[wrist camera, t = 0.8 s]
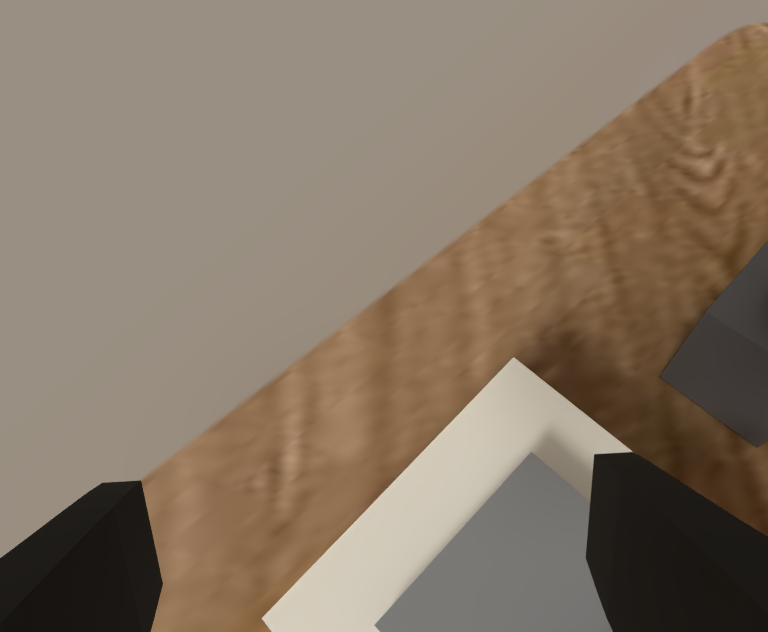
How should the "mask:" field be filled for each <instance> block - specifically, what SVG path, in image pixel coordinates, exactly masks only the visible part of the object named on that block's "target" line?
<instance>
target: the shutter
mask: <svg viewBox="0 0 768 632" xmlns="http://www.w3.org/2000/svg"><path fill="white" fill-rule="evenodd" d="M589 511H590V502H589V501H588V500H587V499H586V498H585V497H584V496H582V495H581V494H580V493H579V492H578V491H577V490H575V489H574V488H573V487H572V486H571V485H570V484H568V483H567V482H566V481H565V480H564V479H563V478H561V477H560V476H559V475H558V474H557V473H556V472H554V471H553V470H552V469H551V468H550V467H549V466H547V465H546V464H545V463H544V462H543V461H542V460H540V459H539V458H538V457H537V456H536V455H535V454H534V453H532V452H530V454H529V455H528V456H527V457H526V458H525V459H524V460H523V461H522V462H521V464H520V465H519V466H518V467H517V468H516V469H515V470H514V471H513V472H512V473H511V475H510V476H509V477H508V478H507V479H506V480H505V481H504V482H503V483H502V485H501V486H500V487H499V488H498V489H497V490H496V491H495V492H494V493H493V494H492V496H491V497H490V498H489V499H488V500H487V501H486V502H485V503H484V504H483V505H482V507H481V508H480V509H479V510H478V511H477V512H476V513H475V514H474V515H473V517H472V518H471V519H470V520H469V521H468V522H467V523H466V524H465V525H464V526H463V528H462V529H461V530H460V531H459V532H458V533H457V534H456V535H455V536H454V538H453V539H452V540H451V541H450V542H449V543H448V544H447V545H446V546H445V547H444V549H443V550H442V551H441V552H440V553H439V554H438V555H437V556H436V557H435V559H434V560H433V561H432V562H431V563H430V564H429V565H428V566H427V567H426V568H425V570H424V571H423V572H422V573H421V574H420V575H419V576H418V577H417V578H416V579H415V581H414V582H413V583H412V584H411V585H410V586H409V587H408V588H407V589H406V591H405V592H404V593H403V594H402V595H401V596H400V597H399V598H398V599H397V600H396V602H395V603H394V604H393V605H392V606H391V607H390V608H389V609H388V610H387V612H386V613H385V614H384V615H383V616H382V617H381V618H380V619H379V620H378V621H377V623H376V624H375V627H376V628H377V629H378V630H379V631H380V632H613V631H612V629H611V627H610V624H609V622H608V620H607V618H606V615H605V612H604V610H603V607H602V604H601V601H600V599H599V596H598V593H597V590H596V587H595V584H594V581H593V578H592V575H591V572H590V569H589V566H588V563H587V560H586V547H587V535H588V523H589Z"/></svg>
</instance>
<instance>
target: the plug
mask: <svg viewBox="0 0 768 632" xmlns="http://www.w3.org/2000/svg"><path fill="white" fill-rule="evenodd" d="M660 378H661V379H663V380H664V381H665V382H667V383H668V384H670V385H671V386H672V387H674V388H675V389H676V390H678V391H679V392H681V393H682V394H683V395H685V396H686V397H688V398H689V399H690V400H692V401H693V402H694V403H696V404H697V405H699V406H700V407H701V408H703V409H704V410H706V411H707V412H708V413H710V414H711V415H712V416H714V417H715V418H717V419H718V420H719V421H721V422H722V423H724V424H725V425H726V426H728V427H729V428H731V429H732V430H733V431H735V432H736V433H737V434H739V435H740V436H742V437H743V438H744V439H746V440H747V441H749V442H750V443H751V444H753V445H754V446H755V447H759V446H760V445H762V444H763V443H765V442H766V441H768V241H767V242H766V243H765V245H764V246H763V247H762V248H761V249H760V250H759V251H758V253H757V254H756V255H755V256H754V257H753V258H752V259H751V260H750V262H749V263H748V264H747V265H746V266H745V267H744V268H743V270H742V271H741V272H740V273H739V274H738V275H737V276H736V278H735V279H734V280H733V281H732V282H731V283H730V284H729V286H728V287H727V288H726V289H725V290H724V291H723V292H722V294H721V295H720V296H719V297H718V298H717V299H716V300H715V302H714V303H713V304H712V305H711V306H710V307H709V308H708V309H707V311H706V312H705V313H704V315H703V316H702V318H701V319H700V320H699V322H698V323H697V325H696V326H695V327H694V329H693V330H692V332H691V333H690V334H689V336H688V337H687V339H686V340H685V342H684V343H683V344H682V346H681V347H680V349H679V350H678V351H677V353H676V354H675V356H674V357H673V359H672V360H671V361H670V363H669V364H668V366H667V367H666V368H665V370H664V371H663V373H662V374H661V375H660Z"/></svg>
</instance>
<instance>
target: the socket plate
mask: <svg viewBox="0 0 768 632" xmlns="http://www.w3.org/2000/svg"><path fill="white" fill-rule="evenodd" d="M530 452H532V453H534V454H535V455H536V456H537V457H538V458H539V459H540V460H542V461H543V462H544V463H545V464H546V465H547V466H549V467H550V468H551V469H552V470H553V471H554V472H556V473H557V474H558V475H559V476H560V477H561V478H563V479H564V480H565V481H566V482H567V483H568V484H570V485H571V486H572V487H573V488H574V489H575V490H577V491H578V492H579V493H580V494H581V495H582V496H584V497H585V498H586V499H587V500H588V501H589V502H590V498H591V486H592V474H593V462H594V454H605V453H622V452H633V451H631V450H630V449H629V448H627V447H626V446H625V445H624V444H622V443H621V442H620V441H619V440H617V439H616V438H615V437H614V436H612V435H611V434H610V433H609V432H607V431H606V430H605V429H604V428H602V427H601V426H600V425H598V424H597V423H596V422H595V421H593V420H592V419H591V418H590V417H588V416H587V415H586V414H585V413H583V412H582V411H581V410H580V409H578V408H577V407H576V406H575V405H573V404H572V403H571V402H569V401H568V400H567V399H566V398H564V397H563V396H562V395H561V394H559V393H558V392H557V391H556V390H554V389H553V388H552V387H551V386H549V385H548V384H547V383H546V382H544V381H543V380H542V379H541V378H539V377H538V376H537V375H535V374H534V373H533V372H532V371H530V370H529V369H528V368H527V367H525V366H524V365H523V364H522V363H520V362H519V361H518V360H517V359H515V358H514V357H513V358H512V359H511V360H510V361H509V362H508V363H507V365H506V366H505V367H504V368H503V369H502V370H501V371H500V372H499V373H498V374H497V375H496V376H495V377H494V378H493V379H492V380H491V381H490V382H489V383H488V384H487V385H486V386H485V387H484V388H483V389H482V390H481V391H480V393H479V394H478V395H477V396H476V397H475V398H474V399H473V400H472V401H471V402H470V403H469V404H468V405H467V406H466V407H465V408H464V409H463V410H462V411H461V412H460V413H459V414H458V415H457V416H456V417H455V418H454V420H453V421H452V422H451V423H450V424H449V425H448V426H447V427H446V428H445V429H444V430H443V431H442V432H441V433H440V434H439V435H438V436H437V437H436V438H435V439H434V440H433V441H432V442H431V443H430V444H429V445H428V446H427V448H426V449H425V450H424V451H423V452H422V453H421V454H420V455H419V456H418V457H417V458H416V459H415V460H414V461H413V462H412V463H411V464H410V465H409V466H408V467H407V468H406V469H405V470H404V471H403V472H402V473H401V474H400V476H399V477H398V478H397V479H396V480H395V481H394V482H393V483H392V484H391V485H390V486H389V487H388V488H387V489H386V490H385V491H384V492H383V493H382V494H381V495H380V496H379V497H378V498H377V499H376V500H375V501H374V503H373V504H372V505H371V506H370V507H369V508H368V509H367V510H366V511H365V512H364V513H363V514H362V515H361V516H360V517H359V518H358V519H357V520H356V521H355V522H354V523H353V524H352V525H351V526H350V527H349V528H348V529H347V531H346V532H345V533H344V534H343V535H342V536H341V537H340V538H339V539H338V540H337V541H336V542H335V543H334V544H333V545H332V546H331V547H330V548H329V549H328V550H327V551H326V552H325V553H324V554H323V555H322V556H321V558H320V559H319V560H318V561H317V562H316V563H315V564H314V565H313V566H312V567H311V568H310V569H309V570H308V571H307V572H306V573H305V574H304V575H303V576H302V577H301V578H300V579H299V580H298V581H297V582H296V583H295V584H294V586H293V587H292V588H291V589H290V590H289V591H288V592H287V593H286V594H285V595H284V596H283V597H282V598H281V599H280V600H279V601H278V602H277V603H276V604H275V605H274V606H273V607H272V608H271V609H270V610H269V611H268V613H267V614H266V615H265V616H264V617H263V618H262V619H263V621H264V622H265V623H266V625H267V626H268V627H269V628H270V630H271V631H272V632H380V631H379V630H378V629H377V628H376V627H375V624H376V623H377V621H378V620H379V619H380V618H381V617H382V616H383V615H384V614H385V613H386V612H387V610H388V609H389V608H390V607H391V606H392V605H393V604H394V603H395V602H396V600H397V599H398V598H399V597H400V596H401V595H402V594H403V593H404V592H405V591H406V589H407V588H408V587H409V586H410V585H411V584H412V583H413V582H414V581H415V579H416V578H417V577H418V576H419V575H420V574H421V573H422V572H423V571H424V570H425V568H426V567H427V566H428V565H429V564H430V563H431V562H432V561H433V560H434V559H435V557H436V556H437V555H438V554H439V553H440V552H441V551H442V550H443V549H444V547H445V546H446V545H447V544H448V543H449V542H450V541H451V540H452V539H453V538H454V536H455V535H456V534H457V533H458V532H459V531H460V530H461V529H462V528H463V526H464V525H465V524H466V523H467V522H468V521H469V520H470V519H471V518H472V517H473V515H474V514H475V513H476V512H477V511H478V510H479V509H480V508H481V507H482V505H483V504H484V503H485V502H486V501H487V500H488V499H489V498H490V497H491V496H492V494H493V493H494V492H495V491H496V490H497V489H498V488H499V487H500V486H501V485H502V483H503V482H504V481H505V480H506V479H507V478H508V477H509V476H510V475H511V473H512V472H513V471H514V470H515V469H516V468H517V467H518V466H519V465H520V464H521V462H522V461H523V460H524V459H525V458H526V457H527V456H528V455H529V454H530ZM633 453H634V452H633Z"/></svg>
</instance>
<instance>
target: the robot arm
mask: <svg viewBox="0 0 768 632" xmlns="http://www.w3.org/2000/svg"><path fill="white" fill-rule="evenodd" d="M586 560H587V563H588V566H589V569H590V572H591V575H592V578H593V581H594V584H595V587H596V590H597V593H598V596H599V599H600V601H601V604H602V607H603V610H604V612H605V615H606V618H607V620H608V622H609V624H610V627H611V629H612V631H613V632H768V537H767V536H765V535H764V534H762V533H760V532H759V531H757V530H755V529H754V528H752V527H751V526H749V525H747V524H746V523H744V522H743V521H741V520H739V519H738V518H736V517H735V516H733V515H731V514H730V513H728V512H727V511H725V510H723V509H722V508H720V507H719V506H717V505H716V504H714V503H713V502H711V501H709V500H708V499H706V498H705V497H703V496H702V495H700V494H699V493H697V492H695V491H694V490H692V489H691V488H689V487H688V486H686V485H685V484H683V483H682V482H680V481H679V480H677V479H675V478H674V477H672V476H671V475H669V474H668V473H666V472H665V471H663V470H661V469H660V468H658V467H657V466H655V465H654V464H652V463H650V462H649V461H647V460H645V459H644V458H642V457H640V456H639V455H637V454H635V453H633V452H622V453H605V454H594V462H593V474H592V486H591V498H590V511H589V523H588V535H587V547H586ZM162 585H163V582H162V578H161V573H160V568H159V564H158V559H157V554H156V549H155V545H154V540H153V535H152V530H151V526H150V521H149V516H148V511H147V507H146V502H145V497H144V492H143V488H142V483H141V481H127V482H110V483H102V484H100V485H99V486H97V487H95V488H94V489H93V490H91V491H89V492H88V493H87V494H85V495H84V496H82V497H81V498H80V499H78V500H77V501H76V502H74V503H73V504H72V505H70V506H69V507H68V508H66V509H65V510H64V511H62V512H61V513H60V514H58V515H57V516H56V517H54V518H53V519H52V520H51V521H49V522H48V523H47V524H45V525H44V526H43V527H41V528H40V529H39V530H37V531H36V532H35V533H33V534H32V535H31V536H29V537H28V538H27V539H25V540H24V541H23V542H21V543H20V544H19V545H17V546H16V547H15V548H14V549H12V550H11V551H9V552H8V553H7V554H5V555H4V556H3V557H1V558H0V632H150V631H151V628H152V624H153V621H154V617H155V613H156V609H157V605H158V601H159V597H160V593H161V589H162Z"/></svg>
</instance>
